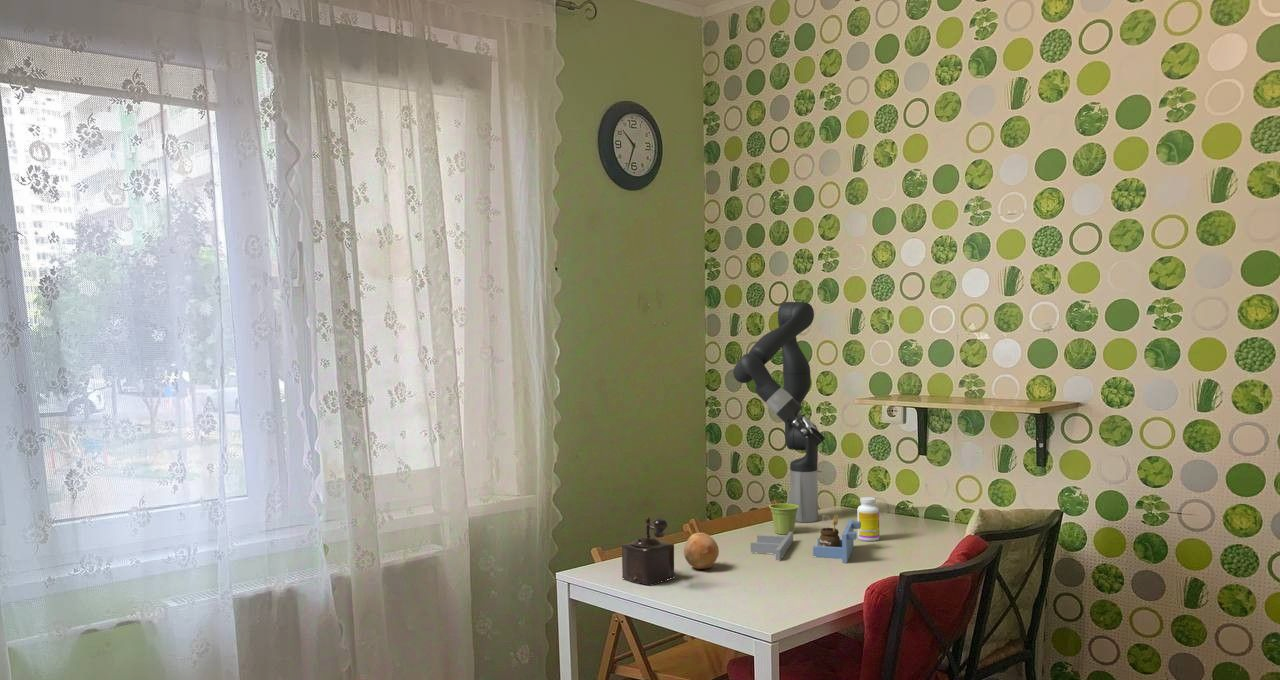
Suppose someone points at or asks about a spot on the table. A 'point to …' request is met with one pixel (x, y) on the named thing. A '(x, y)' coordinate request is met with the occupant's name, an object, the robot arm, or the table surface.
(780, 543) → the grey rail with prongs
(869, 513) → the supplement bottle
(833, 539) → the utensil holder
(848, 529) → the blue rail with prongs
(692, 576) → the table surface
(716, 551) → the onion
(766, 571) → the table surface
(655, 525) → the manual coffee grinder
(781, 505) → the plant pot
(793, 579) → the table surface
